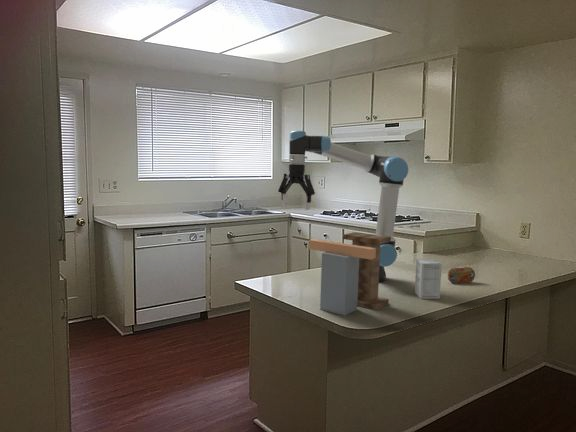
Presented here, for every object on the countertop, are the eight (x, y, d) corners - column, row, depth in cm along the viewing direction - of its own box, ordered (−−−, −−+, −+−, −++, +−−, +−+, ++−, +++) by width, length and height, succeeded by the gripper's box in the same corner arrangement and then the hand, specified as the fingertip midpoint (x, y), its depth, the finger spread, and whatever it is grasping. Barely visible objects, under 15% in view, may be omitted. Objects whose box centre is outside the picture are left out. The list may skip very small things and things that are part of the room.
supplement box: (433, 293, 231) (435, 258, 229) (440, 299, 222) (442, 263, 220) (413, 293, 231) (415, 258, 229) (419, 298, 222) (421, 262, 220)
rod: (308, 249, 208) (308, 239, 207) (313, 247, 211) (314, 238, 210) (370, 259, 190) (371, 249, 189) (375, 258, 193) (375, 248, 192)
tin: (449, 284, 249) (450, 268, 248) (446, 282, 252) (447, 267, 251) (474, 283, 253) (475, 267, 252) (471, 281, 256) (472, 266, 255)
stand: (339, 301, 215) (341, 234, 211) (353, 295, 224) (355, 231, 220) (375, 310, 204) (378, 239, 200) (388, 303, 213) (391, 236, 209)
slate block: (320, 309, 203) (321, 253, 200) (333, 303, 211) (335, 249, 208) (344, 315, 196) (346, 257, 193) (357, 309, 203) (359, 253, 200)
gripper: (271, 163, 234) (270, 206, 237) (313, 164, 219) (312, 211, 221) (281, 163, 240) (280, 205, 242) (323, 164, 225) (321, 210, 227)
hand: (295, 208), depth 232 cm, fingers open, 13 cm apart
